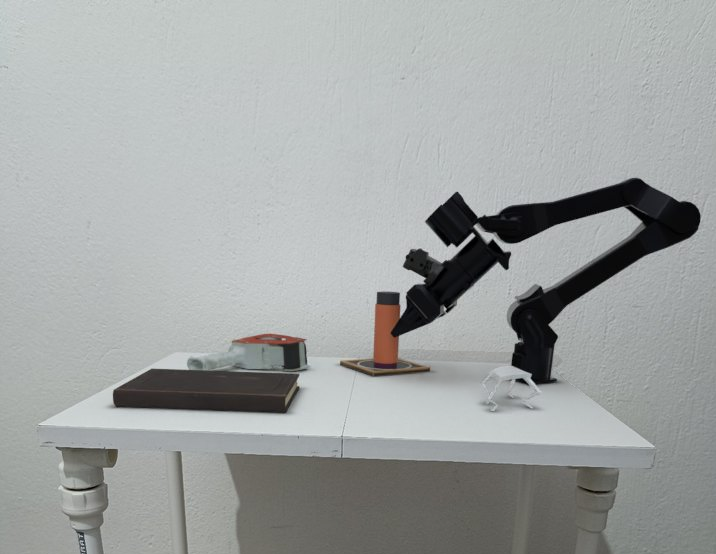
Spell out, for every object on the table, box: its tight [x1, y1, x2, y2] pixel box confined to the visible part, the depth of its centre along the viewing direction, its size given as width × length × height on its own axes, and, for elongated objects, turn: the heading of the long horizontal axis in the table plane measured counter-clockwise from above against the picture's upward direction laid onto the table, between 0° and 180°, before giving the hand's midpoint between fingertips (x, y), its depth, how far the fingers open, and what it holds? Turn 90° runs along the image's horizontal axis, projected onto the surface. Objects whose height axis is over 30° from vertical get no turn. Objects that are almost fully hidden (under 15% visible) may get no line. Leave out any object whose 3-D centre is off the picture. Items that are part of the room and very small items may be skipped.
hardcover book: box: [112, 368, 300, 414], centre depth 95 cm, size 16×23×2 cm
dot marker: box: [372, 290, 401, 369], centre depth 117 cm, size 4×4×13 cm
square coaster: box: [339, 357, 431, 377], centre depth 121 cm, size 12×12×1 cm
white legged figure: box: [481, 365, 543, 412], centre depth 96 cm, size 12×8×5 cm
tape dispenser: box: [186, 333, 310, 373], centre depth 117 cm, size 18×5×20 cm
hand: (398, 332), depth 117 cm, fingers open, 9 cm apart
